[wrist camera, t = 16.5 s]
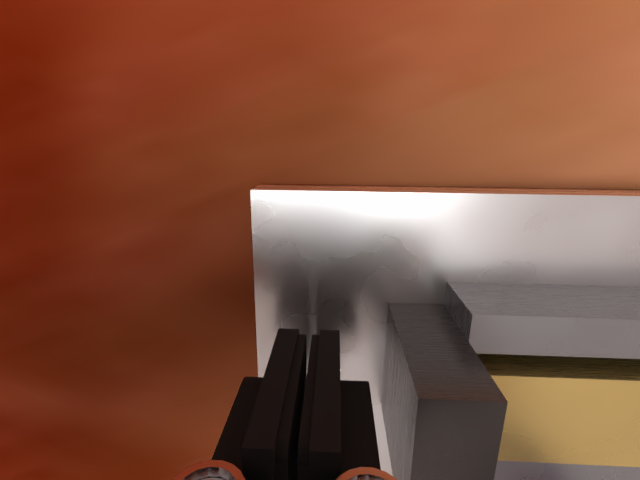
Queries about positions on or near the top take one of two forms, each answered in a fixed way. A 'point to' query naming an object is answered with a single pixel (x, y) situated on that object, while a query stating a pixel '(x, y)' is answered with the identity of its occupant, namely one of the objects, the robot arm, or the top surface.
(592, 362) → the pin
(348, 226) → the dock
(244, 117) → the top surface
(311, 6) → the top surface
